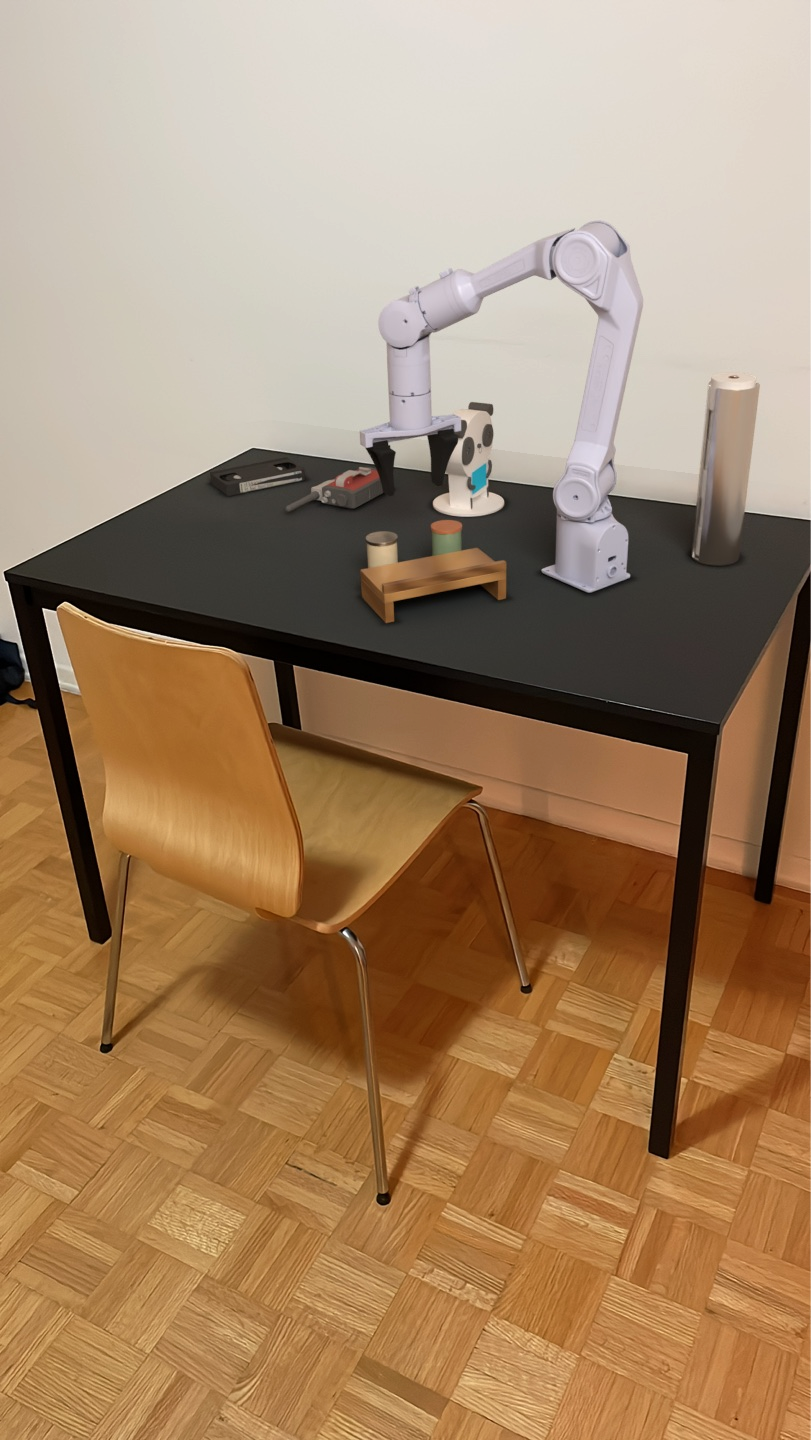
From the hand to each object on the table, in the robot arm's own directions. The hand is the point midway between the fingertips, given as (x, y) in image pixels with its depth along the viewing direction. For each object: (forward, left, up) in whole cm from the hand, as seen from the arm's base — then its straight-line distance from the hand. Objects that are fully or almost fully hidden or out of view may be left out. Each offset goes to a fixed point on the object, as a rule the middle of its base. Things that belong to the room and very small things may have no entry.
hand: (413, 489), depth 159 cm
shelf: (-14, +7, -10) cm, 18 cm away
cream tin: (-5, +9, -10) cm, 14 cm away
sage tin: (-8, 0, -10) cm, 12 cm away
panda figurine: (+11, -19, -10) cm, 24 cm away
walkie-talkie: (+26, -5, -10) cm, 28 cm away
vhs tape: (+44, 0, -10) cm, 45 cm away
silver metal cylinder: (-29, -31, -10) cm, 43 cm away
